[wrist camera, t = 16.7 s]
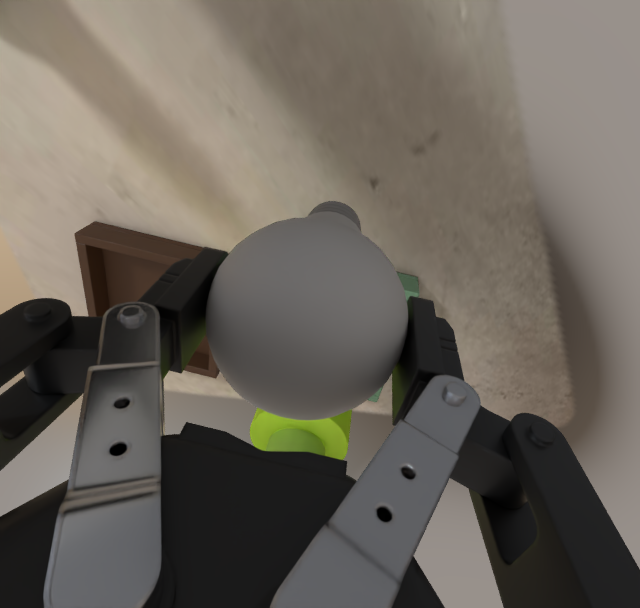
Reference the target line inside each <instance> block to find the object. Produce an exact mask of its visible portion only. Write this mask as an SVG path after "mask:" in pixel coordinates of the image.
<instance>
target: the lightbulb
mask: <svg viewBox="0 0 640 608" xmlns="http://www.w3.org/2000/svg"><path fill="white" fill-rule="evenodd" d="M205 321H206V336H207V339H208V343H209V346H210V350H211V353H212V355H213V358H214V361H215V363H216V364H217V366H218V368H219V370H220V372H221V373H222V375H223V376H224V378H225V379H226V380H227V382H228V383H229V384H230V385H231V387H232V388H233V389H234V390H235V391H236V392H237V393H238V394H239V395H240V396H241V397H242V398H244V399H245V400H246V401H248V402H249V403H251V404H252V405H254V406H255V407H257V408H259V409H262V410H264V411H266V412H268V413H271V414H274V415H277V416H280V417H284V418H289V419H294V420H320V419H325V418H330V417H334V416H337V415H339V414H341V413H344V412H346V411H348V410H351V409H353V408H356V407H357V406H359V405H360V404H362V403H363V402H365V401H366V400H368V399H369V398H370V397H371V396H372V395H374V394H375V393H376V392H377V391H378V390H379V389H380V388H381V387H382V386H383V385H384V384H385V383H386V382H387V380H388V378H389V377H390V375H391V373H392V372H393V370H394V368H395V367H396V365H397V363H398V361H399V360H400V357H401V354H402V350H403V347H404V344H405V340H406V337H407V331H408V306H407V301H406V296H405V291H404V288H403V286H402V283H401V281H400V279H399V277H398V274H397V272H396V271H395V269H394V267H393V265H392V263H391V262H390V261H389V259H388V258H387V257H386V255H385V254H384V253H383V251H382V250H381V249H380V248H379V247H378V246H377V245H375V244H374V243H373V242H372V241H371V240H370V239H369V238H368V237H366V236H364V235H363V234H362V233H361V227H360V221H359V218H358V216H357V214H356V213H355V212H354V210H353V209H351V208H350V207H349V206H347V205H346V204H343V203H341V202H336V201H328V202H324V203H322V204H319V205H318V206H316V207H315V208H314V209H313V210H312V211H311V212H310V214H309V215H308V216H307V217H305V218H292V219H287V220H283V221H278V222H275V223H273V224H271V225H268V226H266V227H264V228H262V229H260V230H258V231H256V232H254V233H252V234H251V235H249V236H248V237H247V238H245V239H244V240H243V241H241V242H240V243H239V244H237V245H236V246H235V247H234V249H233V250H232V251H231V252H230V253H229V255H228V256H227V257H226V258H225V260H224V261H223V262H222V264H221V265H220V266H219V268H218V271H217V273H216V275H215V277H214V279H213V281H212V284H211V287H210V291H209V295H208V300H207V305H206V319H205Z"/></svg>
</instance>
